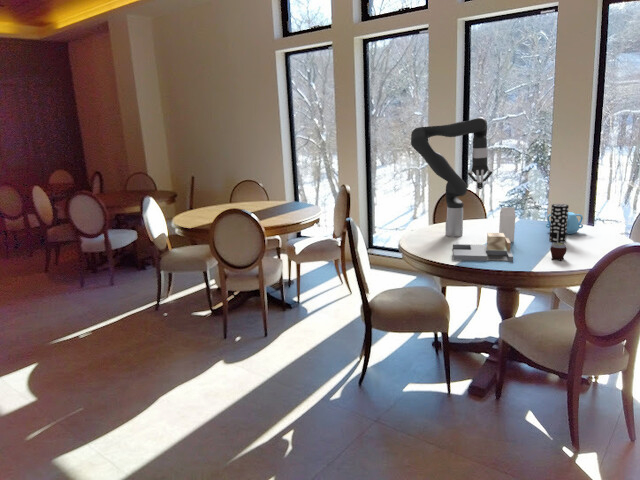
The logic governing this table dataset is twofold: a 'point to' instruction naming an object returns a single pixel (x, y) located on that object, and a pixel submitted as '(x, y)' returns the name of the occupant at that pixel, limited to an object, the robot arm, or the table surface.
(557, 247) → the mate gourd
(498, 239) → the beech block
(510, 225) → the milk carton
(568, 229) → the decorative pot
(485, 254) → the trap deck
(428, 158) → the robot arm
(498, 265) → the table surface
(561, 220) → the white-spotted black cylinder
